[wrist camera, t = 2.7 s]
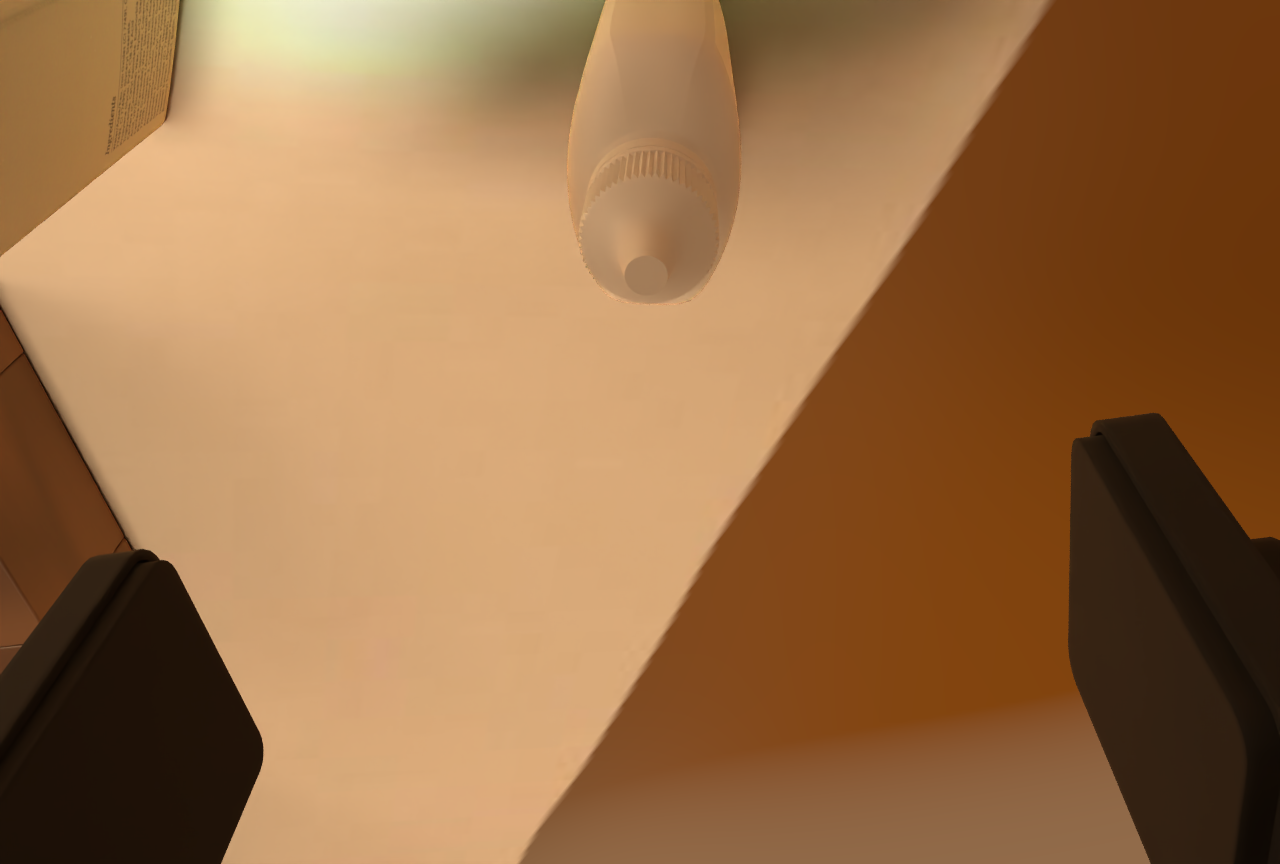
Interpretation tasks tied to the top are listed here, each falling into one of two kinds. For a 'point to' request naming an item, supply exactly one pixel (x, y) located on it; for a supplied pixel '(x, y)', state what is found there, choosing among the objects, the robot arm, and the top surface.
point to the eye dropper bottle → (655, 150)
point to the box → (75, 97)
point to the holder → (40, 502)
